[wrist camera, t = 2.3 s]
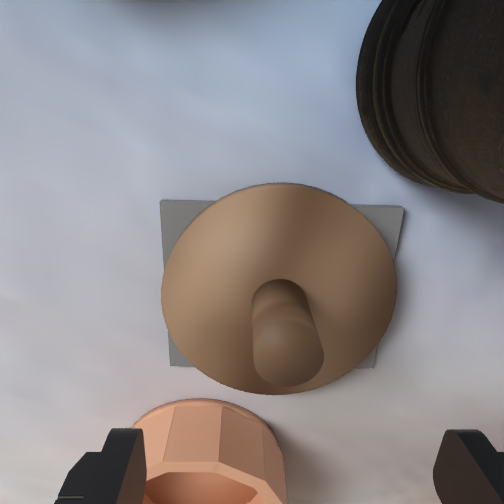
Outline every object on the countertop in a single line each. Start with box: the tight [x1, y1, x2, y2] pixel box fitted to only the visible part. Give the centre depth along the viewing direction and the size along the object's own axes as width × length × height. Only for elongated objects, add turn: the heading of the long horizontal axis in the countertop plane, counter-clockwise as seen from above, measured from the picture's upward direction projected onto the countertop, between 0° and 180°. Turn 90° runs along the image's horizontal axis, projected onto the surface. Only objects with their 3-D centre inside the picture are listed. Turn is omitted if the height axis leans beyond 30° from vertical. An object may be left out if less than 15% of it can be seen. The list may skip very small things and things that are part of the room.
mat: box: [160, 200, 404, 369], centre depth 18 cm, size 11×9×1 cm
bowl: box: [131, 398, 288, 504], centre depth 21 cm, size 10×10×4 cm
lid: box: [161, 183, 397, 395], centre depth 16 cm, size 11×11×5 cm
